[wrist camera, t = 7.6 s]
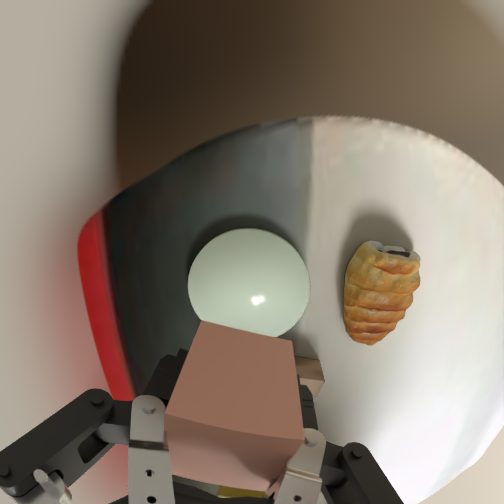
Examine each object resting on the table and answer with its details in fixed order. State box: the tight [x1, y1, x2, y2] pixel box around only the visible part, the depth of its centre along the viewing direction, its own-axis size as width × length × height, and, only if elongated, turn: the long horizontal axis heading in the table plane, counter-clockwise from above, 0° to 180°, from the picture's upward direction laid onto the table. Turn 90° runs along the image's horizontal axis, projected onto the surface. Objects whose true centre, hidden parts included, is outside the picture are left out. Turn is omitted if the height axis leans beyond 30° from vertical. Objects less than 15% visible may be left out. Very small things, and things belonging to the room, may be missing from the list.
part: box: [164, 320, 305, 491], centre depth 11 cm, size 4×4×6 cm
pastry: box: [343, 240, 420, 345], centre depth 22 cm, size 9×7×4 cm
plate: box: [188, 228, 310, 337], centre depth 23 cm, size 10×10×1 cm
